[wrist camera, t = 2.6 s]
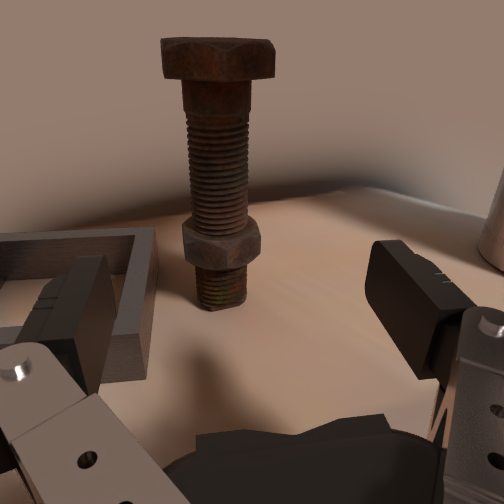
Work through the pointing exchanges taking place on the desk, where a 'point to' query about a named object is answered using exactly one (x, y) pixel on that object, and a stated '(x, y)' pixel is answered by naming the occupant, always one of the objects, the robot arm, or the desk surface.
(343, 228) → the desk surface
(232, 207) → the bolt
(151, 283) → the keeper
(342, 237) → the desk surface
